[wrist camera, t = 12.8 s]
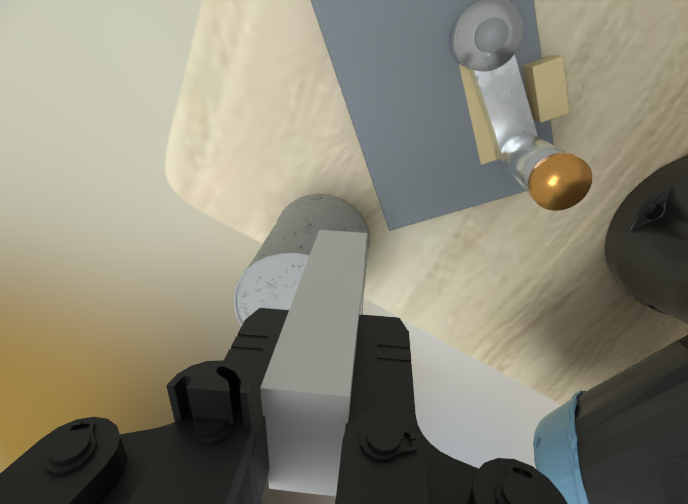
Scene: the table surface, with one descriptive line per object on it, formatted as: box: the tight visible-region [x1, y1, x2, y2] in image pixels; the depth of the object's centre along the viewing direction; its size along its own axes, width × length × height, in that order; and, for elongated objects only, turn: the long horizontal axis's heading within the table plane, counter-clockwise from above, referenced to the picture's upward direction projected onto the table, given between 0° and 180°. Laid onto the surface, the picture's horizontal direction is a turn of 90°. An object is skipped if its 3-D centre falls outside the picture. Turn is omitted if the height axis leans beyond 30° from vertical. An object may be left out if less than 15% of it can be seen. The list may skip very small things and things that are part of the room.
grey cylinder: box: [234, 195, 369, 327], centre depth 34 cm, size 10×10×12 cm
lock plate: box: [311, 0, 569, 231], centre depth 29 cm, size 24×16×5 cm, turn 20°
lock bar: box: [450, 0, 592, 211], centre depth 26 cm, size 13×4×10 cm, turn 26°
